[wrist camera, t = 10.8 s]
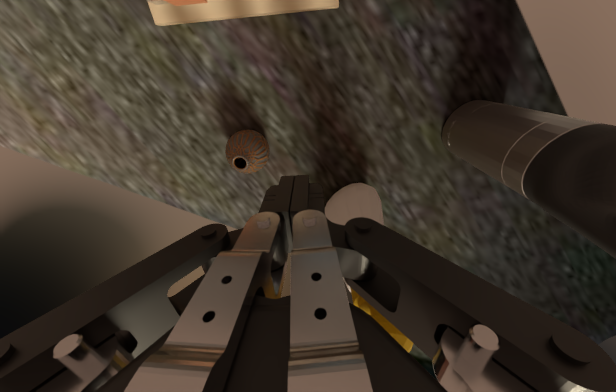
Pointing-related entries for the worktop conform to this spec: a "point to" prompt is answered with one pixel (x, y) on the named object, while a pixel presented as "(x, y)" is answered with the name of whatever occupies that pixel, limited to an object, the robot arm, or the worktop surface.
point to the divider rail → (158, 2)
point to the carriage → (185, 2)
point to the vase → (247, 151)
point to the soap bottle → (365, 204)
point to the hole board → (232, 9)
